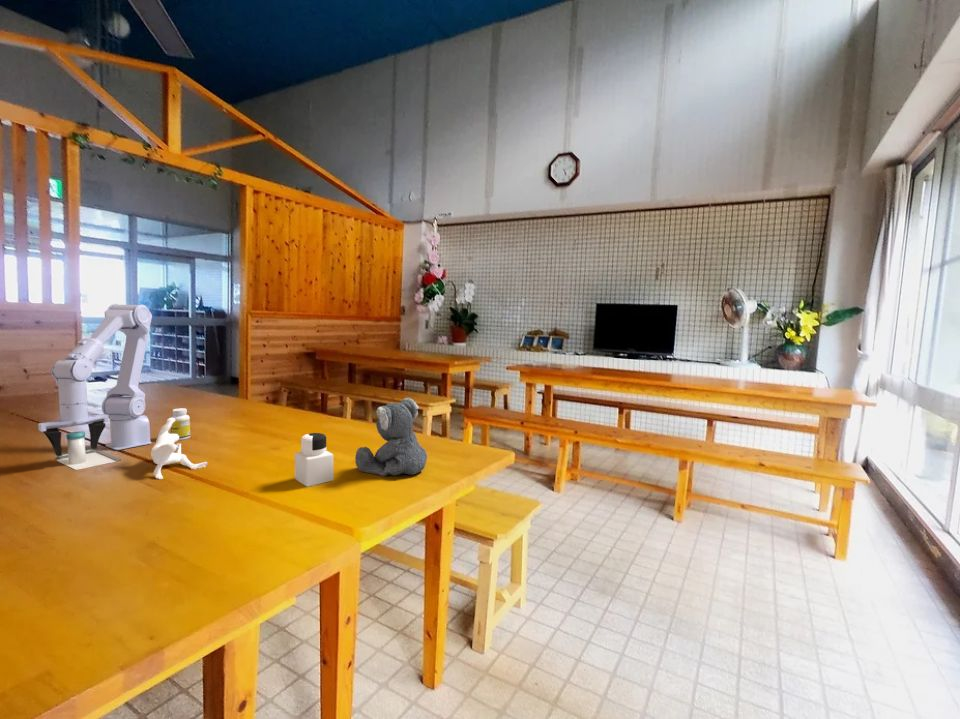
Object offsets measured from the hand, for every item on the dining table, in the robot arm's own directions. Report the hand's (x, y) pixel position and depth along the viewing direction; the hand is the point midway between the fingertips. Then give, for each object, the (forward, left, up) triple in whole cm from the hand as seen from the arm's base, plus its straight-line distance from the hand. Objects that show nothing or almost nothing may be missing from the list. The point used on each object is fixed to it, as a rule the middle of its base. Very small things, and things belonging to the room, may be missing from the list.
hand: (76, 451), depth 127 cm
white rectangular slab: (-2, 0, -3) cm, 4 cm away
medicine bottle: (-28, +63, -3) cm, 69 cm away
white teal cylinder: (0, 0, -3) cm, 3 cm away
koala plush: (-48, +74, -3) cm, 88 cm away
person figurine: (-13, +23, -3) cm, 27 cm away
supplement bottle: (-28, -4, -3) cm, 29 cm away
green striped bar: (-2, -8, -3) cm, 9 cm away
